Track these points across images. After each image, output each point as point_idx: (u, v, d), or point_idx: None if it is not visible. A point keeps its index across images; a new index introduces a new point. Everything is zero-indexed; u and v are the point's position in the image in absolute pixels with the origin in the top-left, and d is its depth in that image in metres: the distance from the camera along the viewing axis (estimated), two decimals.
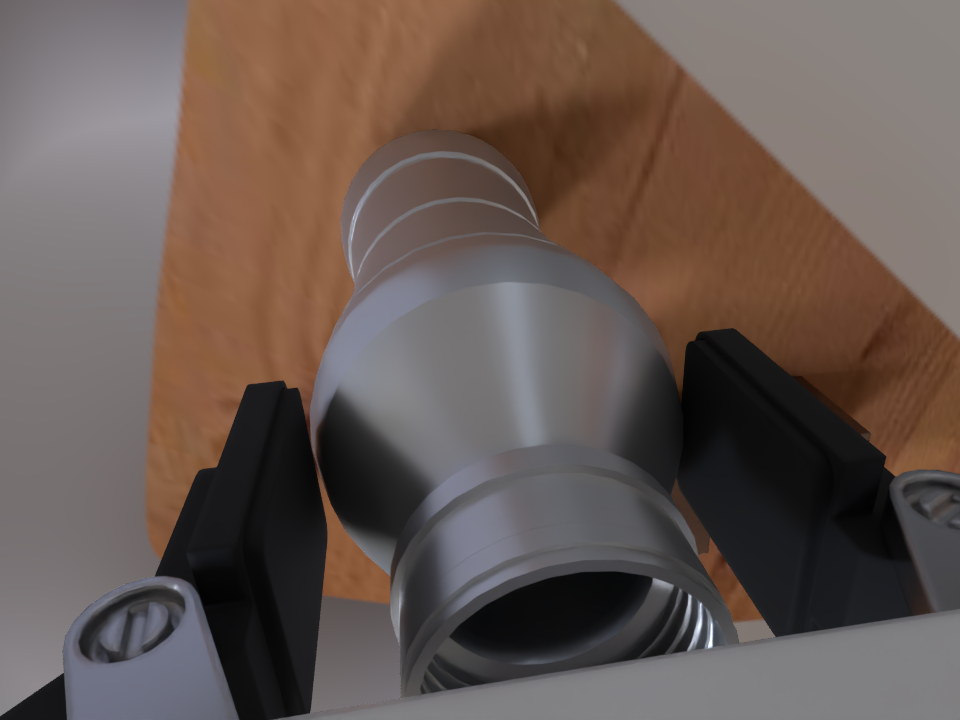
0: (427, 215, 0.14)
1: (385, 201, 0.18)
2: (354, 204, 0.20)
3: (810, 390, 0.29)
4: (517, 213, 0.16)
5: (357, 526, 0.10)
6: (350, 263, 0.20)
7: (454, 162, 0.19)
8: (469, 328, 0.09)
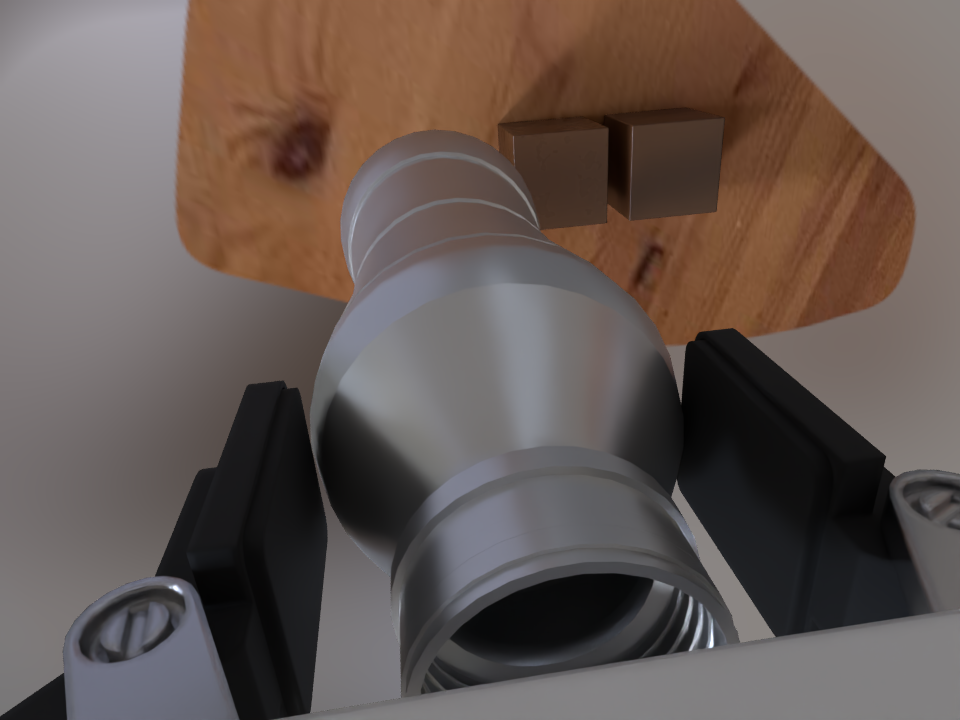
0: (427, 216, 0.14)
1: (385, 201, 0.18)
2: (354, 204, 0.20)
3: (690, 110, 0.37)
4: (517, 213, 0.16)
5: (357, 527, 0.10)
6: (350, 263, 0.20)
7: (454, 162, 0.19)
8: (469, 329, 0.09)
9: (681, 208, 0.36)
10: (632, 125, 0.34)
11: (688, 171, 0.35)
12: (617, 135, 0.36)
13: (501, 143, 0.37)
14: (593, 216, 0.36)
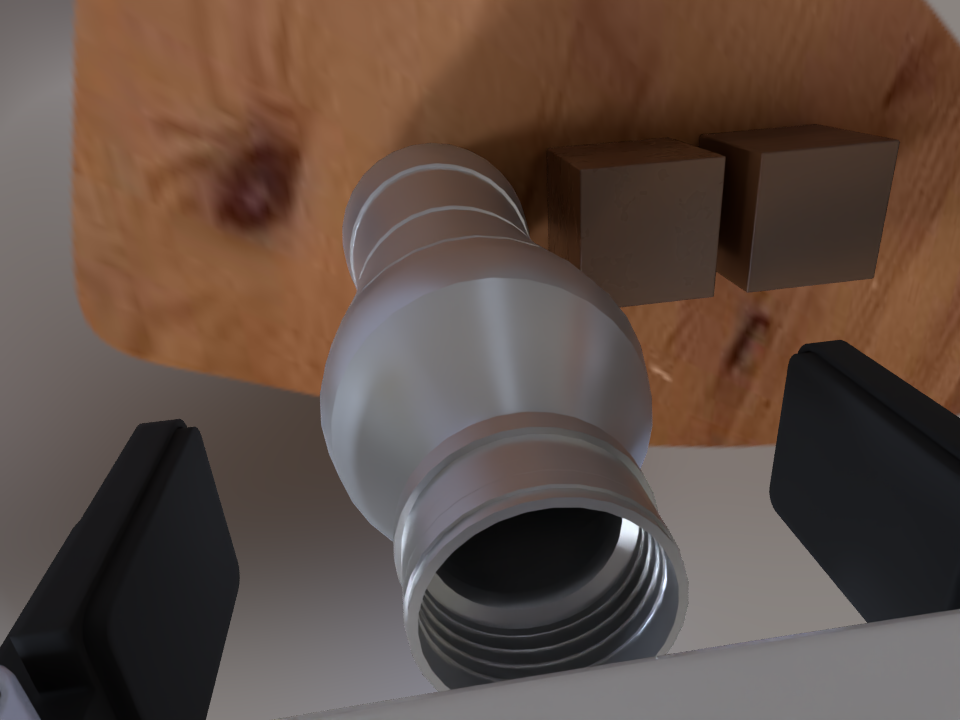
0: (424, 221, 0.16)
1: (385, 209, 0.19)
2: (355, 212, 0.21)
3: (827, 128, 0.26)
4: (506, 220, 0.17)
5: (363, 493, 0.11)
6: (352, 267, 0.22)
7: (449, 173, 0.20)
8: (461, 317, 0.11)
9: (823, 274, 0.24)
10: (761, 152, 0.22)
11: (838, 219, 0.23)
12: (726, 165, 0.24)
13: (553, 177, 0.25)
14: (694, 287, 0.24)
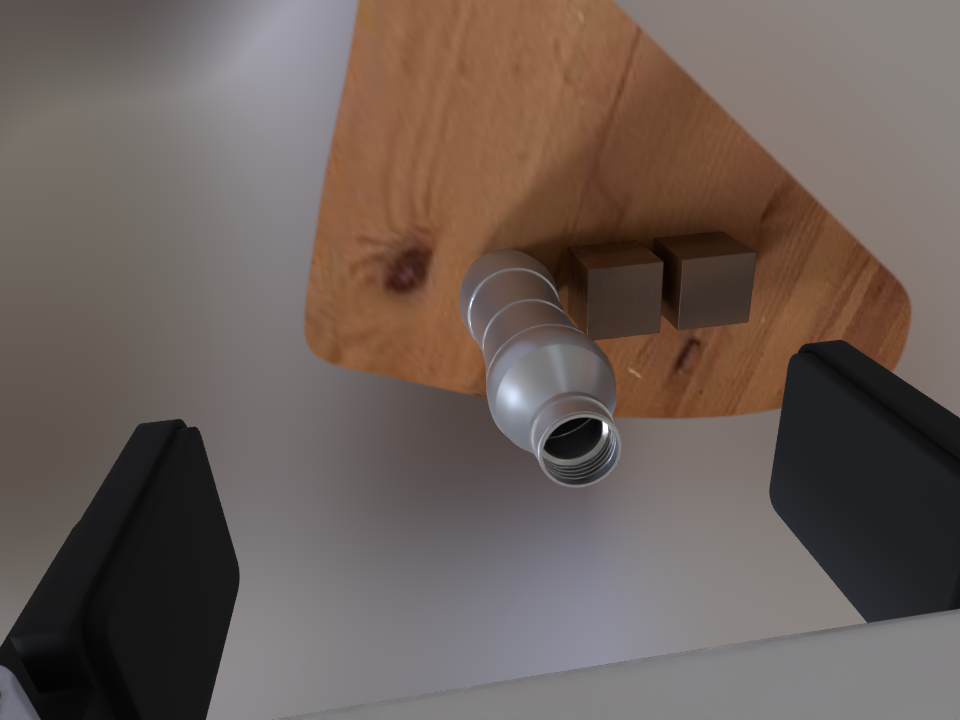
0: (519, 309, 0.36)
1: (492, 295, 0.39)
2: (471, 291, 0.41)
3: (726, 236, 0.45)
4: (553, 304, 0.38)
5: (509, 421, 0.32)
6: (468, 319, 0.42)
7: (521, 274, 0.40)
8: (547, 359, 0.31)
9: (720, 320, 0.44)
10: (682, 258, 0.42)
11: (726, 292, 0.43)
12: (667, 260, 0.44)
13: (571, 264, 0.45)
14: (648, 328, 0.44)
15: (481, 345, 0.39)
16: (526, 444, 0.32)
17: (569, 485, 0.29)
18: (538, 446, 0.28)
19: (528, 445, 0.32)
